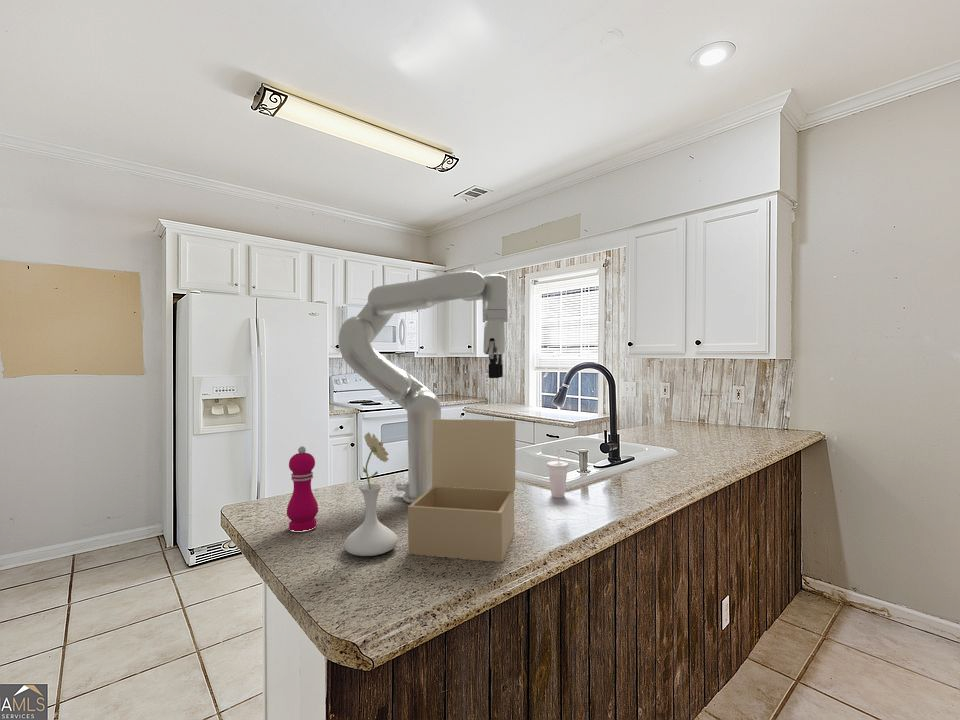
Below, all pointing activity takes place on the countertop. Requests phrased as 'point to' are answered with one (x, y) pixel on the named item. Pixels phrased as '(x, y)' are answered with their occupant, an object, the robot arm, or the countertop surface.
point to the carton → (461, 523)
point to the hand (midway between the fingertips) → (495, 376)
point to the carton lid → (474, 454)
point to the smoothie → (557, 476)
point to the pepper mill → (302, 492)
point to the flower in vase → (371, 514)
